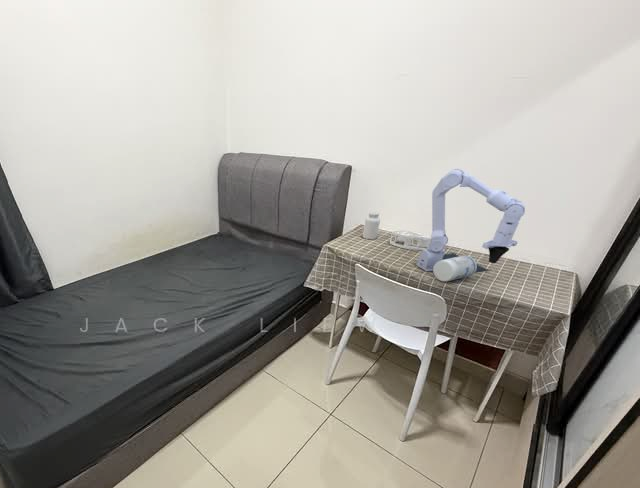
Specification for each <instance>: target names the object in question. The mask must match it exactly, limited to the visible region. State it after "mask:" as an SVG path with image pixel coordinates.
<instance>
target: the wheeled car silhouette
mask: <svg viewBox="0 0 640 488" xmlns="http://www.w3.org/2000/svg"><path fill="white" fill-rule="evenodd" d="M394 235H395V236H394ZM393 237H394V240H393ZM410 239H411V240H410ZM414 240H418V241H417V244H416V243H414ZM410 241H411V242H410ZM430 241H431V235H427V234H424V233H418V232H414V231H412V230H411V231H410V230H405V229H396V230H392V232H391V234H390V239H389V244H390V245H392V246H394V247H397V248H401V249H406V250H413V251H425V250H426V249H427V248H428V247H429V243H430ZM398 243H399V244H398ZM402 244H403V245H402Z"/></svg>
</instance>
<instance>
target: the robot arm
mask: <svg viewBox="0 0 640 488" xmlns="http://www.w3.org/2000/svg"><path fill="white" fill-rule="evenodd" d="M457 186H459V188H469V189H471V190H473V191H474V192H476V193H478V194H480V195H481V196H483V197H485V198H486V201H485V202H486V203H487V204H489V205H490V206H492V207H493V208H495V209H496V210H498V211H499V212H504V213H503V216H502V218H501V219H500V222H499V223H498V226H497V229H496V230H495V233H494V236H493V238H492V239H491V240H488V241H487V242H483V244H482V246H481V248H483V249H486V250H487V249H488V254H489V258H488V262H489V263H491V264H497V262H498V261H499V260H500V259H501V258H502V257H503V256H504V255H505V254H506V253H507V252H509V250H510V248H511V247H516V246H517V245H518V242H519V241H517V240H514V239H513V237H514V235H515V233H516V231H517V228H518V226H519V224H520V221H521V218H522V217H523V216H524V215H525V214H526V207H525V204H524V203H523V202H522V200H519V199H518V198H516V197H515V198H513V197H512V196H510V195H509V194H507V191H506V190H505V189H504V190H501V189H496V190H494V189H492V188H491V187H489V186H488V185H486V184H485V183H483V182H482V181H480V180H479V179H478V178H476V177H475V176H473V175H471V174H470V173H468V172H466V171H464V170H463V169H459V168H454V169H451V170H450V171H449V172H447V173H446V174H445V175H444V176H443V177H441V178H440V180H439V181H438V182H437V184H436V186H435V187H434V188H433V190H432V193H431V198H432V199H431V200H432V201H431V203H432V205H431V207H432V208H431V209H432V211H431V216H432V217H431V218H432V220H431V222H432V223H431V224H432V226H431V228H432V229H431V230H432V231H431V235H430V236H431V241H430V243H429V246H428V248H427V249H426V250H425V251H423V250H421V252H420V253H419V255H418V259H417V262H416V263H415V266H417V267H419V268H420V269H422V270H423V271H425V272H433V268H434V265H435V264H436V263H437V262H439V261H441V260H442V259H443V256H444V255H445V253H446V249H445V248H446V245H447V244H448V242H449V238H448V235H447V234H446V233H447V232H446V194H447V193H448V192H450V190H452V189H454V188H456V187H457Z"/></svg>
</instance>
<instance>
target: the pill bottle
mask: <svg viewBox="0 0 640 488" xmlns="http://www.w3.org/2000/svg"><path fill="white" fill-rule="evenodd" d="M379 215H380V213H379V212H377V211H370V212H369V213H368V216H366V218H365V220H364V224H363V225H364V226H363V230H362V238H363V239H365V240H376V239H377V237H378V232H379V227H380V223H381V219H380V216H379Z"/></svg>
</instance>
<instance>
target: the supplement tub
mask: <svg viewBox="0 0 640 488" xmlns="http://www.w3.org/2000/svg"><path fill="white" fill-rule="evenodd" d="M458 256H459V257H454V258H450V259H445V260H441V261H439V262H437V263H436V264H435V265H434V268H433V271H432V272H433V275H434V277H435V278H436V279H437V280H438V281H441V282H450V281H455V280H458V279H462V278H467V277H471V276H472V275H474V274H475V273H476V272H477V271H476V269H477V265H478V264H477V261H476V260H475V259H474V257H472V256H470V255H466V254H465V255H458ZM475 271H476V272H475Z"/></svg>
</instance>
